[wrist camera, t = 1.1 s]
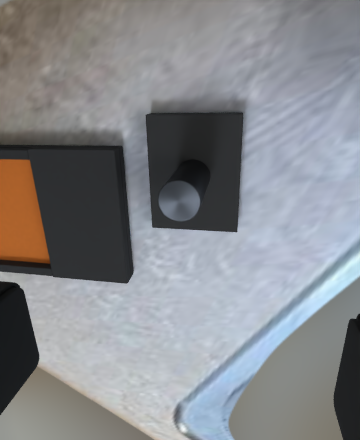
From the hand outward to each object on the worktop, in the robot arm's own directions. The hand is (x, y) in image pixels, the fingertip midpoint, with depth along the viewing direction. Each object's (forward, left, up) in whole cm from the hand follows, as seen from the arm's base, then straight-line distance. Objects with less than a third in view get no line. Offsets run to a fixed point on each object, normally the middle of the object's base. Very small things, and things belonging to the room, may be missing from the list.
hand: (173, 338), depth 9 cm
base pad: (+4, -16, -18) cm, 24 cm away
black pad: (0, -2, -18) cm, 18 cm away
